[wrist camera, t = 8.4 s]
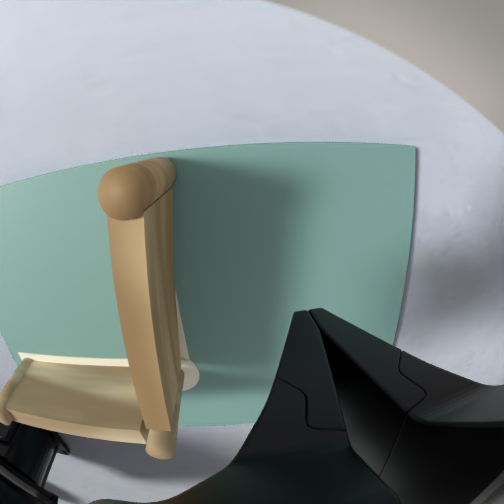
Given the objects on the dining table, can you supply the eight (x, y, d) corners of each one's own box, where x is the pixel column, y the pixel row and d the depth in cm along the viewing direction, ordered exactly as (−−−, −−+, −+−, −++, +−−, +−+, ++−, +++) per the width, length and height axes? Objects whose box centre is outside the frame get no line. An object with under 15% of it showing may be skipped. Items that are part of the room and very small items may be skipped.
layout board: (375, 397, 20) (377, 402, 20) (46, 408, 19) (44, 413, 18) (410, 145, 14) (415, 146, 14) (-35, 197, 13) (-40, 199, 12)
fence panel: (177, 156, 13) (147, 165, 8) (184, 364, 17) (174, 434, 12) (142, 157, 13) (96, 167, 8) (157, 363, 17) (141, 431, 12)
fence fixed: (186, 381, 18) (178, 461, 12) (29, 372, 17) (-5, 427, 11) (182, 362, 17) (170, 444, 11) (20, 356, 16) (-17, 410, 11)
